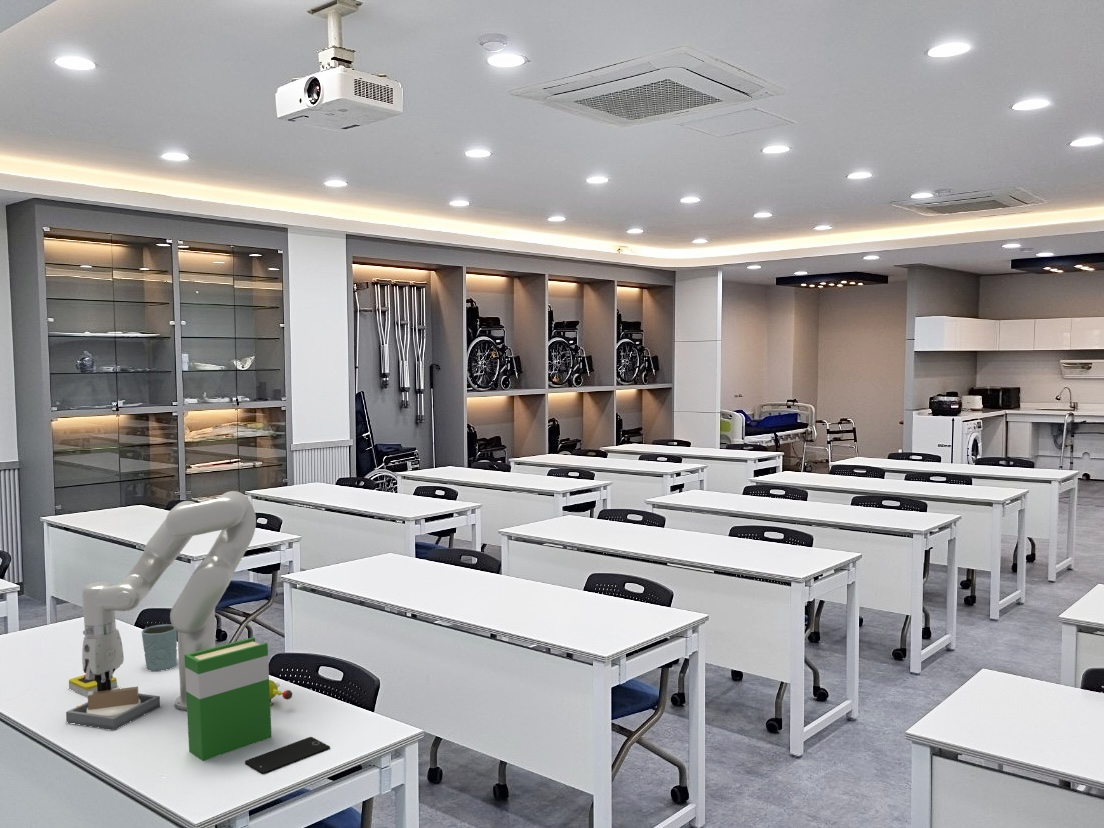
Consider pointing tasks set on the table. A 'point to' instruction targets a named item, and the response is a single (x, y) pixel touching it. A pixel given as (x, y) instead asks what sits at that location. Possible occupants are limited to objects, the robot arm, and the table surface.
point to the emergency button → (87, 685)
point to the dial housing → (112, 723)
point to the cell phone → (286, 755)
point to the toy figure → (274, 691)
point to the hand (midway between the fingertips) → (104, 694)
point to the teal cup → (160, 647)
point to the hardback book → (227, 698)
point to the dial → (112, 701)
